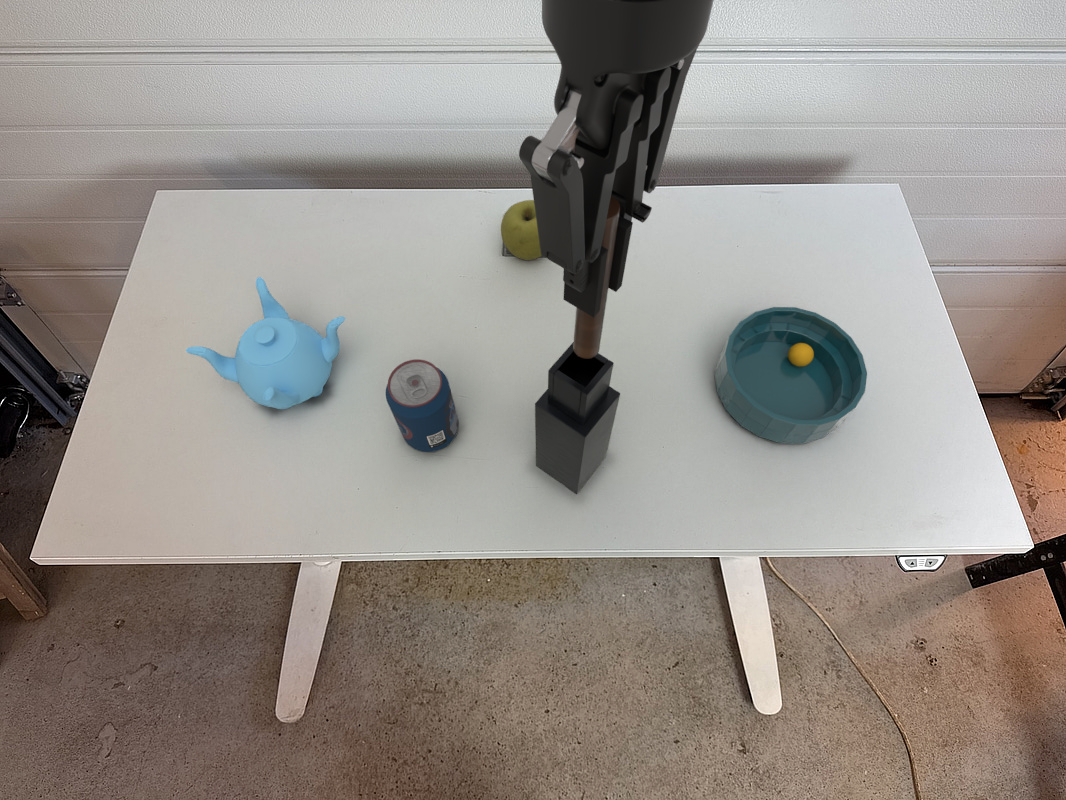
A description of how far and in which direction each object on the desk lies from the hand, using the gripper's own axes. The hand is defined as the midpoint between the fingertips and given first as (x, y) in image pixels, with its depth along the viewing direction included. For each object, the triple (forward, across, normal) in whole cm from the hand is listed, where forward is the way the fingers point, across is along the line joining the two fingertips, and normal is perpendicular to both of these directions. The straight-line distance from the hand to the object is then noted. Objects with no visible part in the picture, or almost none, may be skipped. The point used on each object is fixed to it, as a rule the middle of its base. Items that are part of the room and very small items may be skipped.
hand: (592, 292), depth 47 cm
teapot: (+33, +12, -35) cm, 50 cm away
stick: (+7, 0, 0) cm, 7 cm away
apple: (+33, -23, -24) cm, 47 cm away
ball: (+30, -28, +15) cm, 44 cm away
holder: (+33, 0, 0) cm, 33 cm away
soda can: (+33, +7, -16) cm, 37 cm away
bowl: (+33, -24, +15) cm, 43 cm away
